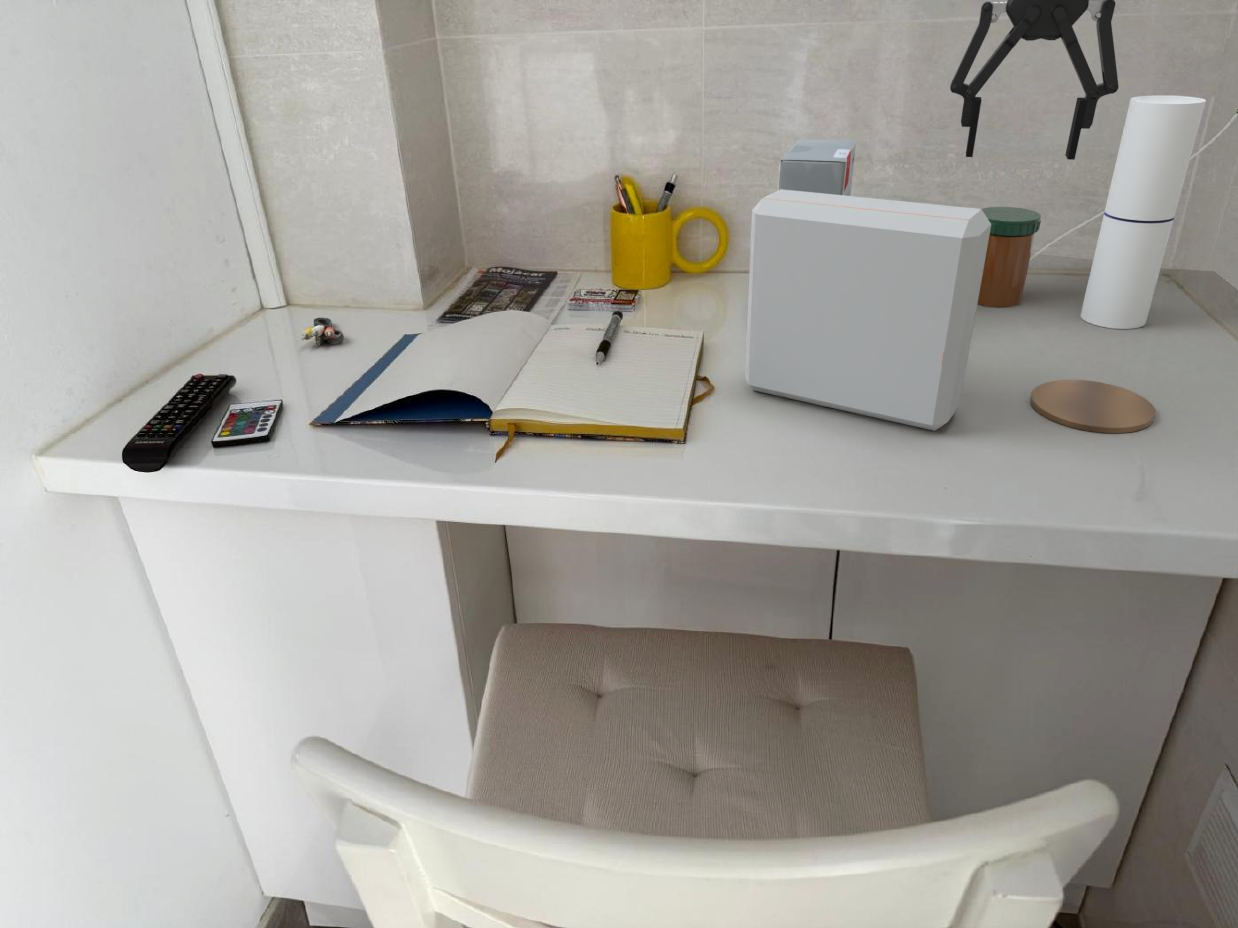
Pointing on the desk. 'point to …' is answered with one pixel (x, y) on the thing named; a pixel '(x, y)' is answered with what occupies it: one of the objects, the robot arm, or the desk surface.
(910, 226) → the bevelled white case
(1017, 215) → the jar lid
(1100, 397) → the coaster
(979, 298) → the brown lidded jar
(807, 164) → the hard drive box
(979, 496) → the desk surface
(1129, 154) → the cylindrical container
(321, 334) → the composite cable
